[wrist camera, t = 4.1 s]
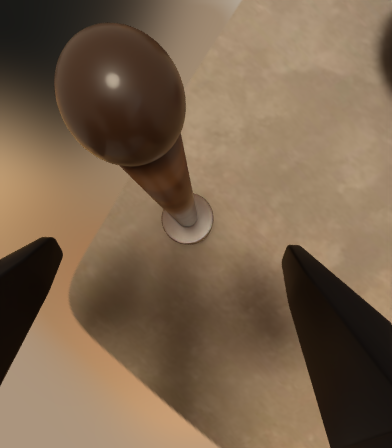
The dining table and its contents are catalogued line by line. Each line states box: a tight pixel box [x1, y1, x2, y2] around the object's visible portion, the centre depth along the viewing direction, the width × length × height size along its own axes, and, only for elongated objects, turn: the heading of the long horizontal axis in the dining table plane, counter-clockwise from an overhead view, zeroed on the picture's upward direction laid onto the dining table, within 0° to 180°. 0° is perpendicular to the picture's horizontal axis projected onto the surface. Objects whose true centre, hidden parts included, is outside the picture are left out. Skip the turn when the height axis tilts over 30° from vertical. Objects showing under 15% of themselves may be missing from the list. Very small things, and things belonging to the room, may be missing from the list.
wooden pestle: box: [54, 23, 213, 245], centre depth 11 cm, size 4×4×17 cm
